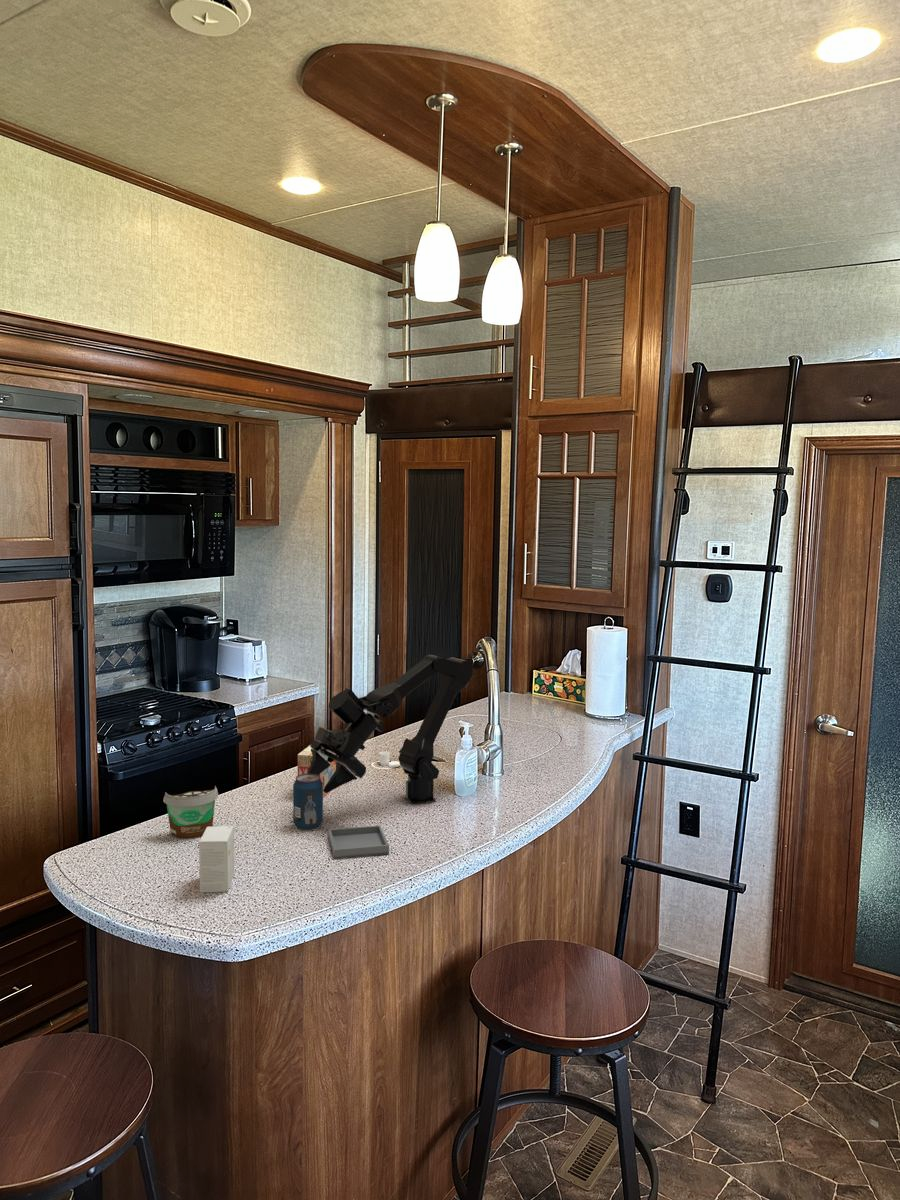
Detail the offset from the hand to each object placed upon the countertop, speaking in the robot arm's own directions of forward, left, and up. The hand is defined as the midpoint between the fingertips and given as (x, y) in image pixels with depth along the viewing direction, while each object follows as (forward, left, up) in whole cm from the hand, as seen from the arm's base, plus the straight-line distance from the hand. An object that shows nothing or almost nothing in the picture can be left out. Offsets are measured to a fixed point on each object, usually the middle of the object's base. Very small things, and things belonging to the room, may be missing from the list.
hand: (315, 786), depth 198 cm
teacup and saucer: (-23, -40, -10) cm, 47 cm away
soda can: (+2, +1, -9) cm, 10 cm away
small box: (+22, +28, -10) cm, 37 cm away
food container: (+28, +1, -10) cm, 29 cm away
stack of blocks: (-4, -27, -10) cm, 29 cm away
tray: (-8, +15, -9) cm, 19 cm away
